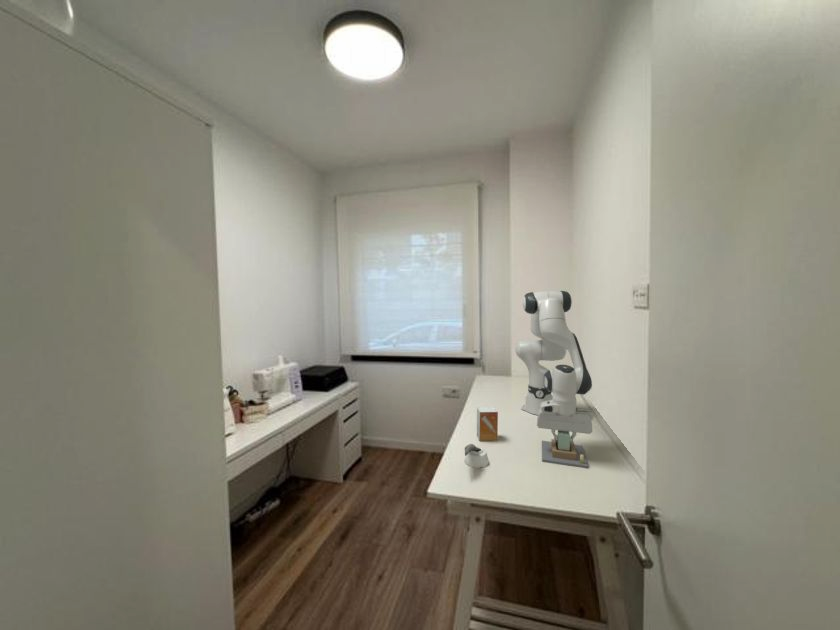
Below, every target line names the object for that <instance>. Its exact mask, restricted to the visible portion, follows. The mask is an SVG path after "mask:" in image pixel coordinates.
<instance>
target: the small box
mask: <svg viewBox="0 0 840 630" xmlns="http://www.w3.org/2000/svg"><path fill="white" fill-rule="evenodd" d="M498 419H499V411H498V410H497V409H496V408H495V407H493V406H492V407H487V406H485V407H476V437H477V439H478V440H479V442H484V441H487V442H488V441H489V442H490V441H491V442H493V441H496V442H497V441H498V432H499V431H498V429H499V427H498V425H499V423H498V422H499V421H498Z"/></svg>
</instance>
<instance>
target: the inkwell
mask: <svg viewBox="0 0 840 630" xmlns="http://www.w3.org/2000/svg"><path fill="white" fill-rule="evenodd" d="M464 457H465V458H464V463H465V464H466V465H467V466H469V467H472V468H475V467H477V468H478V469H479V468H480V467H482V468H484V467H488V465H489V463H490V462H489V461H490V460H489V458H488V454H487V451H486V450H485V449H483V448H482V447H480V446H476V445H475V444H473V443H469V444H467V445H466V446H465V447H464ZM480 469H481V468H480Z"/></svg>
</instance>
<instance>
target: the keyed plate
mask: <svg viewBox="0 0 840 630" xmlns="http://www.w3.org/2000/svg"><path fill="white" fill-rule="evenodd" d="M585 452H586V451H585V449H584V445H582V444H581V445H580V444H575V441H573V443H571V442H570V451H567V450H560V449H558V441H555V440H554V438H551V440H550V441H549V440H548V441H547V440H541V462H543V463H548V464H556V465H561V466H570V467H577V468H582V469H589V463H588V460H587V457H586V453H585Z"/></svg>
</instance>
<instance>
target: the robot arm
mask: <svg viewBox="0 0 840 630" xmlns="http://www.w3.org/2000/svg"><path fill="white" fill-rule="evenodd" d="M572 303H573V301H572V296H571V294H570V293H569V291H566V290H545V291H535V292H533V291H530V292H527V293H525V295H524V296H523V298H522V307H523V311H525V313H526V314H530V331H531V333H532V334H533V336H535V337H537V338H539V339H523V340H518V342H517V343H516V345H515V354H516V356H517V357H518V358H519V359H520V360H521V361H522V362H523V363H524V364H525V366H526V368H527V371H528V381H529V383H528V386H527V391H528V392H527V393H526V394H525V395H524V400H525V401H524V404H523V405H522V406H521V408H520V409H521V410H522V411H525V412H527V413H528V414H532V415H537V418H536V426H537V428H538V429H545V430H551V434H552V435H553V439H554V440H555V441H558V434H556V431H558V430H560V431H569V433H571V434H572V435H570V442H571V443H573V442H574V439H575V437H576V436H577V434H578V433H579V434H587V435H589V434H592V432H593V424H592V421H593V420H594V413H593V411H591V410H590V409H588V408H580V407H577V397H576V395H582V396H583V395H586V394H588V393H589V392H590V390H592V387H593V381H592V377H591V375H590V372H589V370H588V368H587V365H586V362H585V358H584V356H583V352H582V348H581V345H580V343H579V340H578V338H577V336H576V334H575V333H574V332H572V331H571V330H570V329H569V327H568V325H567V320H566V314H565V313H568V312H569V311H570V309H571V307H572V305H573V304H572ZM567 351H568V352H569V356H570V359H571V363H572V366H571V365H567V364H558V365H555V366H554V367H553V369H548V368H547V367H546V366H543V365H542V364H540V363H539V362H540V361H546V362H547V361H549V362H550V361H551V362H552V361H553V362H555V361H560V360H563V359H564V358H565V357H566V354H567Z"/></svg>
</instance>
